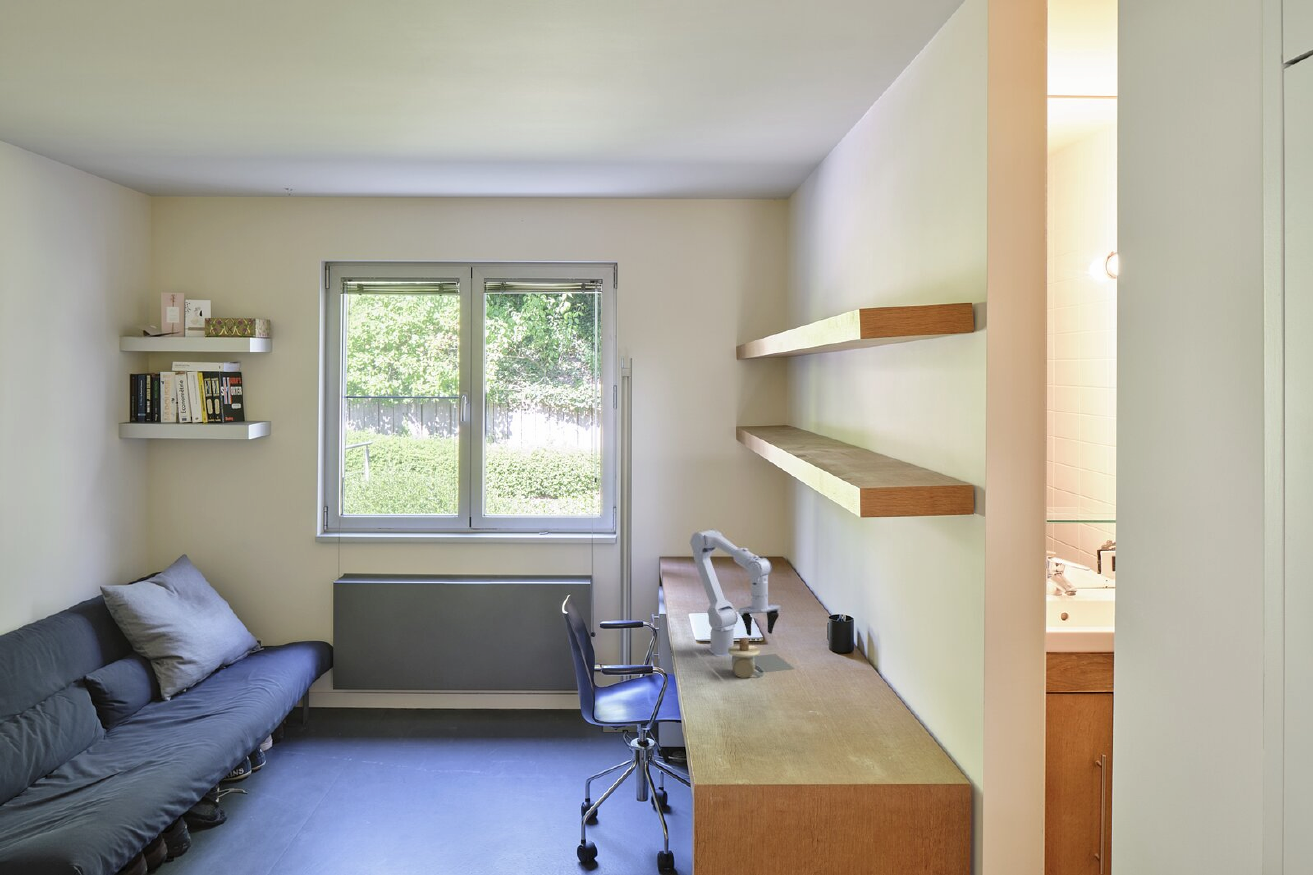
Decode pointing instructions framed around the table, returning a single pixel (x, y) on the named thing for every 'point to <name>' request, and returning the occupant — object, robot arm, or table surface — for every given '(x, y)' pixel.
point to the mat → (771, 663)
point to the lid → (744, 649)
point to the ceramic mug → (746, 667)
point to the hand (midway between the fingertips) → (759, 633)
